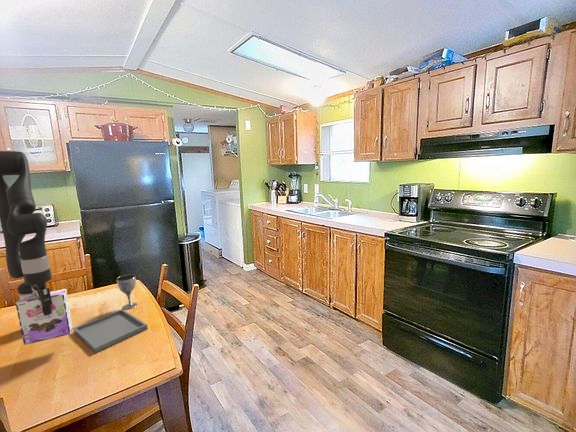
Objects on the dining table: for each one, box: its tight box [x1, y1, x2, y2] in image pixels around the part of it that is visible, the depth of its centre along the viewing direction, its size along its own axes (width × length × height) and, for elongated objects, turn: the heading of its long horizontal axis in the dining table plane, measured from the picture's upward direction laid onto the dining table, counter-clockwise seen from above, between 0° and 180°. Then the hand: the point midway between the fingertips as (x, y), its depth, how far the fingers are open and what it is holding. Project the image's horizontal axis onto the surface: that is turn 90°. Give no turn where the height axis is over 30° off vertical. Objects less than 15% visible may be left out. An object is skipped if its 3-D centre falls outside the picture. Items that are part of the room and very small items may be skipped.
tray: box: [72, 308, 148, 354], centre depth 124 cm, size 24×20×2 cm
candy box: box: [15, 288, 74, 346], centre depth 109 cm, size 14×6×16 cm, turn 118°
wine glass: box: [116, 273, 138, 311], centre depth 144 cm, size 8×8×15 cm
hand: (44, 311), depth 109 cm, fingers closed on candy box, 7 cm apart
